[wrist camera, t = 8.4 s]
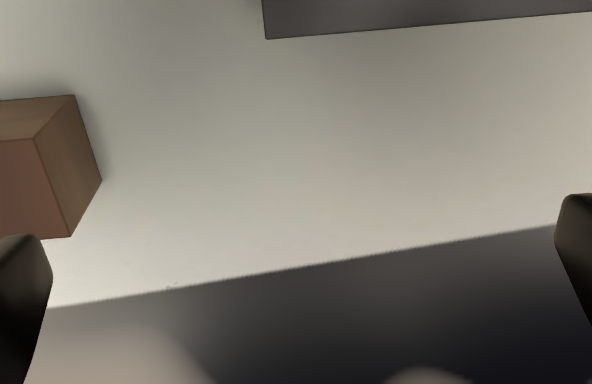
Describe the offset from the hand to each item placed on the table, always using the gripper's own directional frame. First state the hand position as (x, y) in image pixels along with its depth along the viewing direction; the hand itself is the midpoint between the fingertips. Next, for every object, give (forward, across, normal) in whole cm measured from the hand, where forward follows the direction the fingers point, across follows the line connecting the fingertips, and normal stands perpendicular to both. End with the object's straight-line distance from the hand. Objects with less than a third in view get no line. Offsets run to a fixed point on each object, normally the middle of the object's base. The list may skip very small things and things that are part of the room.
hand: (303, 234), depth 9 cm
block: (+12, +10, +3) cm, 16 cm away
